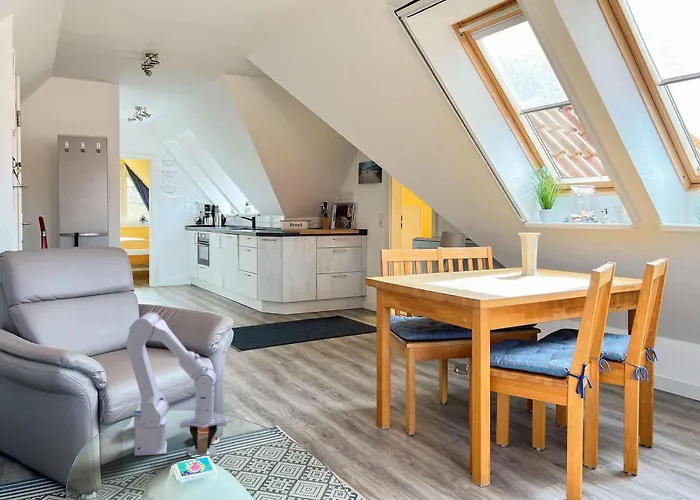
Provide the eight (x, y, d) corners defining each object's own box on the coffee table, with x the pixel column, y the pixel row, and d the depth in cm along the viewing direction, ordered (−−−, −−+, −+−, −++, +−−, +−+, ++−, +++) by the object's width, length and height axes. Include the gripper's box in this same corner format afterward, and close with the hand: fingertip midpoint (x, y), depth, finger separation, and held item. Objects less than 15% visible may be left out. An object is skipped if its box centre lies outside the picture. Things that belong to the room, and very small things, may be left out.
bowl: (193, 444, 191) (194, 433, 190) (193, 435, 198) (193, 424, 197) (215, 443, 193) (215, 432, 192) (214, 434, 200) (214, 423, 199)
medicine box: (139, 425, 201) (140, 401, 200) (152, 425, 202) (153, 402, 201) (133, 435, 194) (134, 410, 192) (146, 435, 194) (147, 411, 193)
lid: (187, 460, 181) (187, 446, 180) (187, 447, 189) (188, 433, 189) (216, 459, 183) (217, 445, 182) (216, 445, 191) (216, 432, 191)
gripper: (180, 413, 178) (178, 454, 180) (228, 411, 182) (226, 452, 184) (180, 404, 185) (178, 444, 187) (226, 402, 189) (224, 442, 191)
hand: (202, 447), depth 186 cm, fingers closed on lid, 3 cm apart
